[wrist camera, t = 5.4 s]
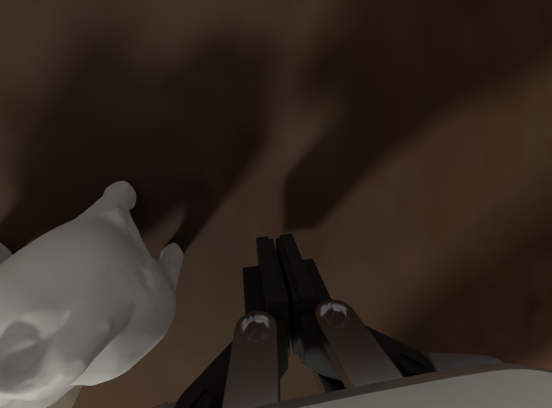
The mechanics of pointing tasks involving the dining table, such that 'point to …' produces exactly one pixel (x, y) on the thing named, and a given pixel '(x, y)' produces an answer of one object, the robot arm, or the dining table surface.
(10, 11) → the dining table surface
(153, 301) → the dog figurine
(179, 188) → the dining table surface
